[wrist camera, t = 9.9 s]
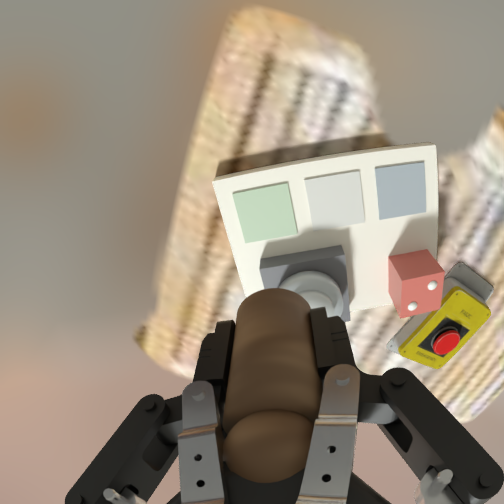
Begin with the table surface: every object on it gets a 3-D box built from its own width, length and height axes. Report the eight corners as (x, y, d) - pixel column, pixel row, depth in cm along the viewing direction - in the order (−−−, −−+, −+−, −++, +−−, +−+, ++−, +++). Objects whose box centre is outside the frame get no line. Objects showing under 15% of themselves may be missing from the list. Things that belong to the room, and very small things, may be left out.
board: (429, 142, 26) (445, 149, 23) (428, 287, 34) (439, 305, 31) (215, 177, 30) (207, 188, 27) (255, 318, 37) (253, 338, 34)
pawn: (308, 282, 14) (334, 477, 6) (315, 340, 16) (333, 509, 8) (228, 294, 15) (195, 483, 7) (245, 349, 16) (230, 514, 8)
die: (427, 248, 30) (444, 272, 26) (425, 284, 32) (440, 309, 28) (388, 256, 31) (402, 281, 27) (388, 292, 33) (400, 318, 29)
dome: (334, 255, 31) (342, 281, 27) (340, 307, 33) (346, 335, 30) (269, 267, 32) (268, 293, 28) (281, 317, 34) (281, 345, 31)
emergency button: (390, 368, 35) (473, 277, 28) (382, 344, 39) (456, 257, 32) (433, 384, 37) (509, 306, 30) (425, 362, 41) (493, 286, 34)
